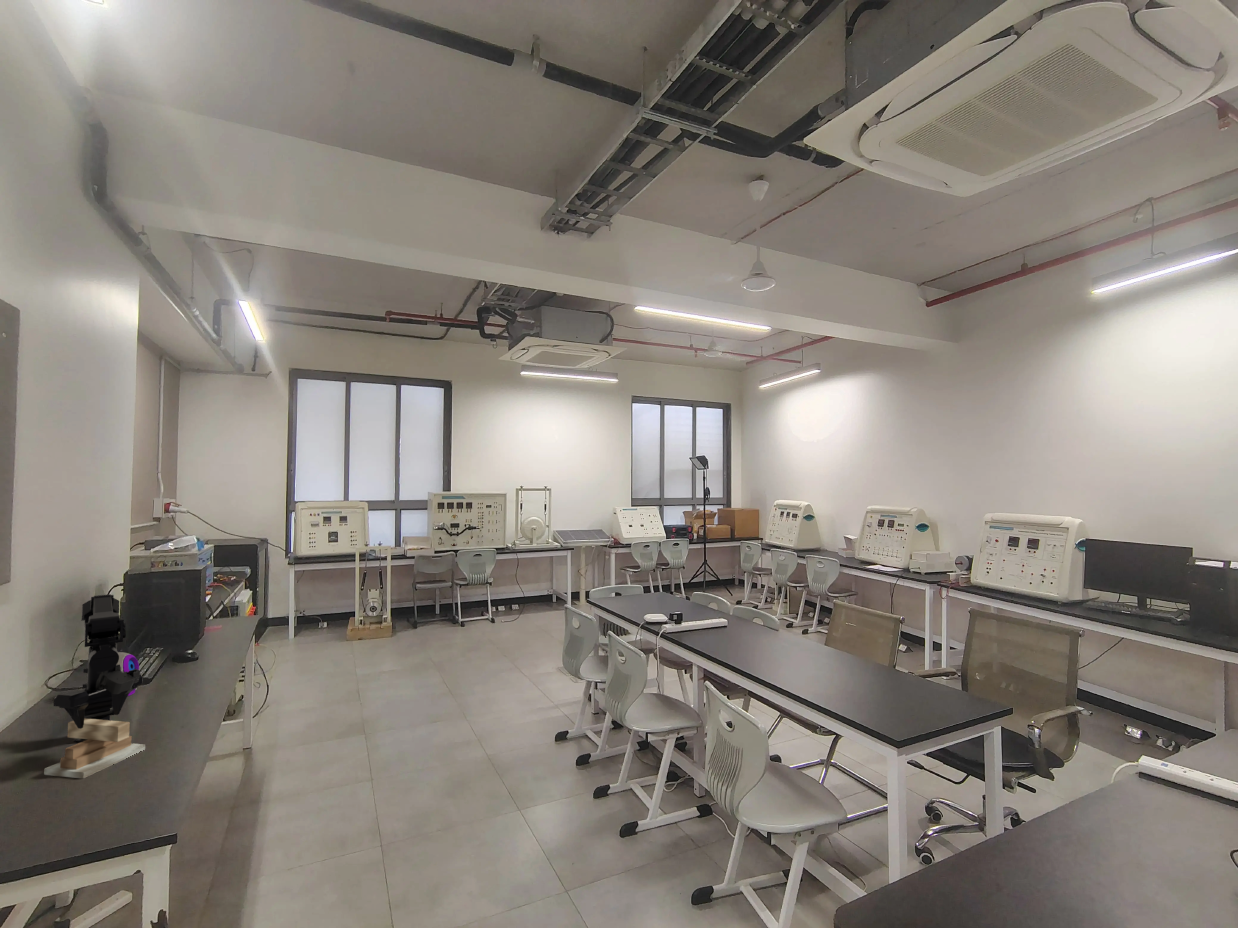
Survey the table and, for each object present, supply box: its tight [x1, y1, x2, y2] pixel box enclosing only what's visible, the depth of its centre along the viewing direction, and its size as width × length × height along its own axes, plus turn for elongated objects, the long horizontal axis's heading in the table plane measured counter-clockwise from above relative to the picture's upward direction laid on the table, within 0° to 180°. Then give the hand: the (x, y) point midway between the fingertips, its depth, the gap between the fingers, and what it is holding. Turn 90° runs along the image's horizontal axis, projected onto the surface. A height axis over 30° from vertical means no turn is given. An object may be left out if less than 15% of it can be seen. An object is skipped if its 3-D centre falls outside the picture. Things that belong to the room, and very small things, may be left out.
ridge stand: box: [43, 735, 146, 779], centre depth 152 cm, size 12×16×6 cm
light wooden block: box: [67, 718, 131, 742], centre depth 152 cm, size 16×3×4 cm, turn 81°
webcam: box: [117, 651, 140, 697], centre depth 200 cm, size 13×13×15 cm
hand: (99, 721), depth 152 cm, fingers open, 9 cm apart
